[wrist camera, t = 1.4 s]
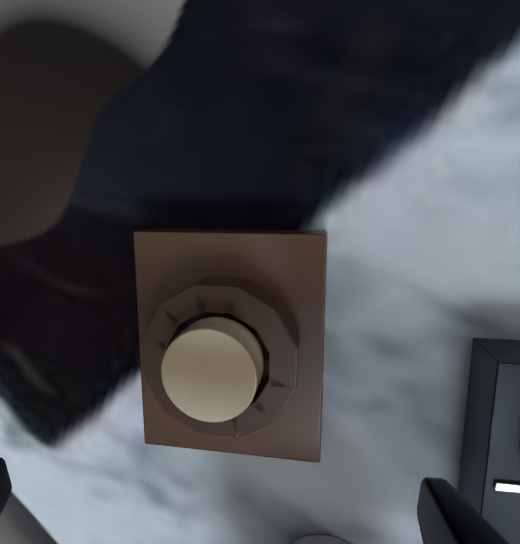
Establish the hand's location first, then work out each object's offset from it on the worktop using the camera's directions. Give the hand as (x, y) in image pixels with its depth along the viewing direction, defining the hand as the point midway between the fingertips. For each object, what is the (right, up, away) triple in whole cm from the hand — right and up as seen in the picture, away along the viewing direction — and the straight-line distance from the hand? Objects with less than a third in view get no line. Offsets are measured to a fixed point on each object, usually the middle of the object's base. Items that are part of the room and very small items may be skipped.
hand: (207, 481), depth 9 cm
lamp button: (-1, +1, +9) cm, 9 cm away
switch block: (0, +1, +13) cm, 13 cm away
